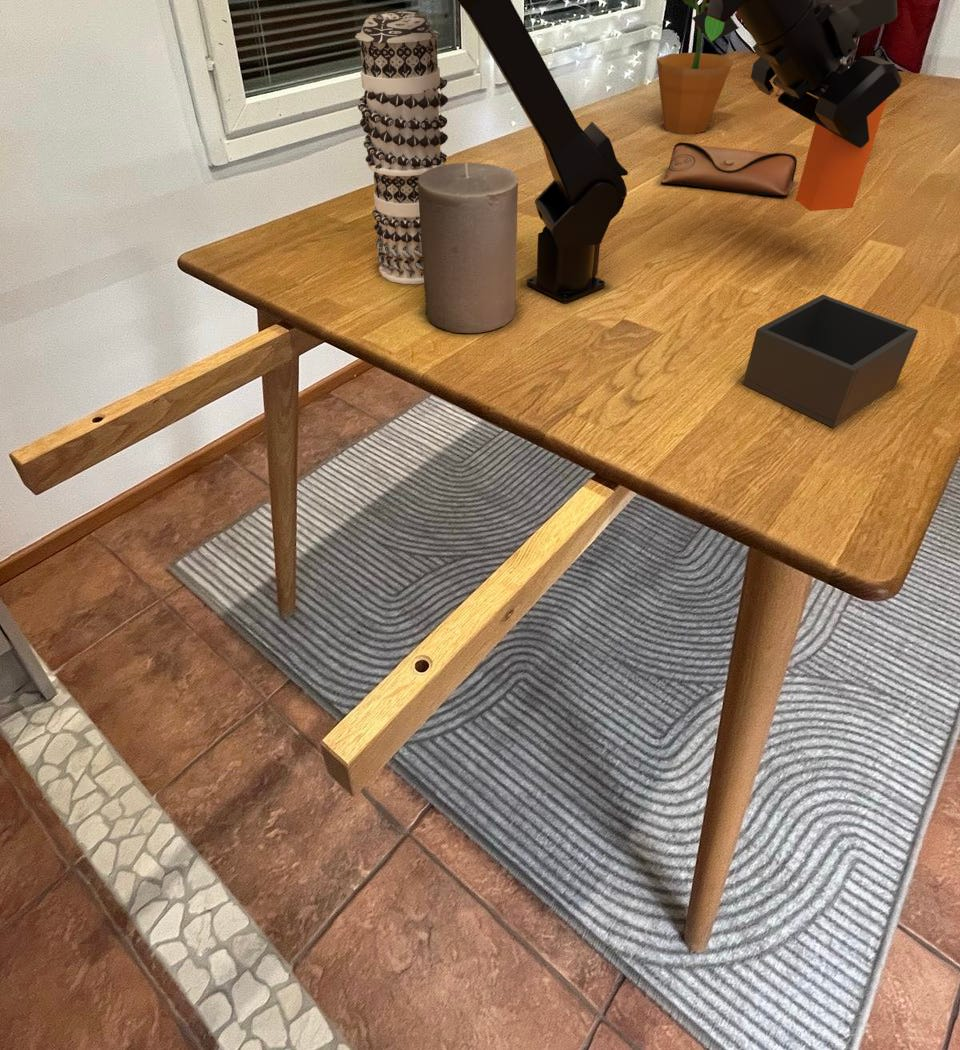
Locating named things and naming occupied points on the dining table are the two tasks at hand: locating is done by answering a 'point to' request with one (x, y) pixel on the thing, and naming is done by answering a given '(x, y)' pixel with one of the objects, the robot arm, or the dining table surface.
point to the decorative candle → (400, 131)
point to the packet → (835, 168)
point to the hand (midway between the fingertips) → (854, 138)
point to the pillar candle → (469, 245)
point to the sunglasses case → (731, 169)
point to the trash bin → (828, 359)
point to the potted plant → (694, 77)
